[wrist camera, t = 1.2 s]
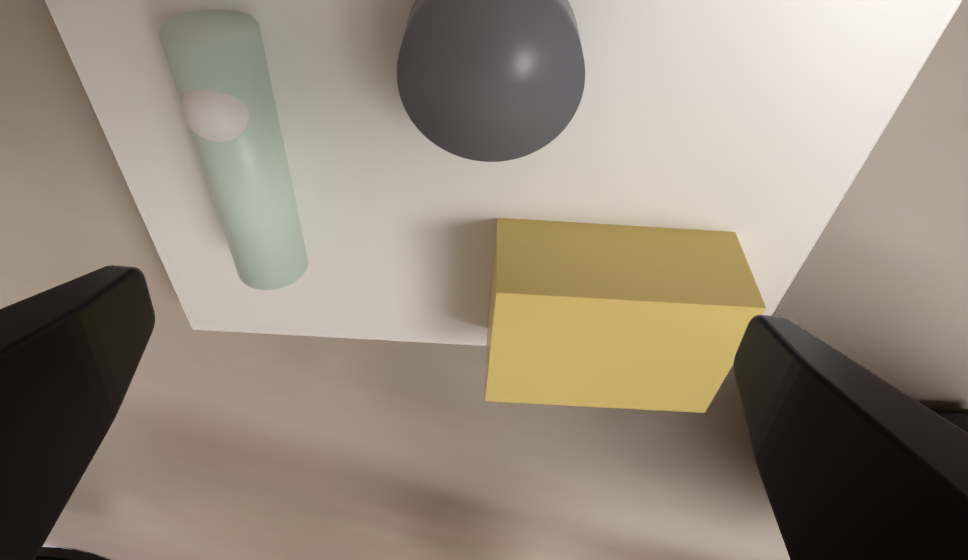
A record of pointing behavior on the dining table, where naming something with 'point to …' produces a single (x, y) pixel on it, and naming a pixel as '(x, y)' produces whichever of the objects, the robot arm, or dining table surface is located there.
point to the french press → (64, 554)
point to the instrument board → (498, 168)
